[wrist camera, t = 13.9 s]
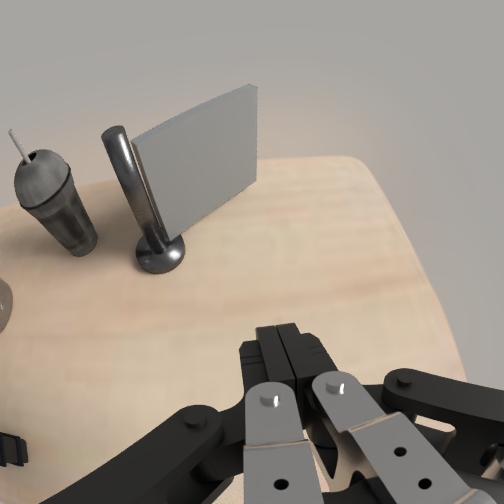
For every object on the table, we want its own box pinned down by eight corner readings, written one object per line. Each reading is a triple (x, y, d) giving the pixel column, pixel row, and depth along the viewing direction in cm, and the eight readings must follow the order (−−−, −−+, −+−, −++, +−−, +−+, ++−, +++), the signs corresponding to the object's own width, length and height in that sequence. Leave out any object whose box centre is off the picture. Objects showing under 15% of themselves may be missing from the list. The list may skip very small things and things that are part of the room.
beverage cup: (99, 213, 39) (41, 95, 22) (112, 248, 35) (41, 119, 18) (58, 237, 36) (-12, 131, 20) (67, 275, 33) (-22, 163, 16)
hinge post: (133, 272, 33) (67, 160, 19) (144, 231, 37) (97, 117, 22) (180, 275, 33) (133, 153, 19) (189, 232, 37) (157, 109, 22)
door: (170, 241, 34) (136, 145, 22) (159, 229, 35) (124, 135, 23) (256, 180, 39) (257, 87, 27) (244, 172, 40) (241, 80, 28)
